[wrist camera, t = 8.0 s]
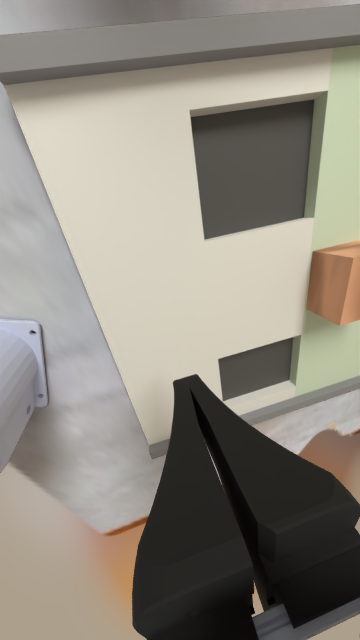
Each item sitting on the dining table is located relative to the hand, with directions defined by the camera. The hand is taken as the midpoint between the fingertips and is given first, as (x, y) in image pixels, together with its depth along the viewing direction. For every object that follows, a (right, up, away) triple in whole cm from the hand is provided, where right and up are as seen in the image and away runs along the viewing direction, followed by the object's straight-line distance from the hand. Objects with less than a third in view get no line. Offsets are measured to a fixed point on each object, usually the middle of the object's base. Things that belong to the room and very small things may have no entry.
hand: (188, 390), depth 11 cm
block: (+15, +8, +10) cm, 20 cm away
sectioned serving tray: (+9, +7, +10) cm, 16 cm away
